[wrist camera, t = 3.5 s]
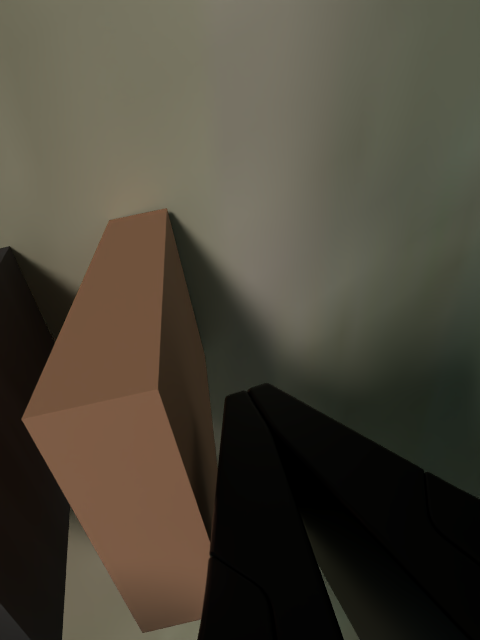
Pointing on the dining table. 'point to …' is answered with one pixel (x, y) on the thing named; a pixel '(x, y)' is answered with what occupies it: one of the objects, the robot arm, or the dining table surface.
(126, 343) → the domino
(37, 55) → the dining table surface
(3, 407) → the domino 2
